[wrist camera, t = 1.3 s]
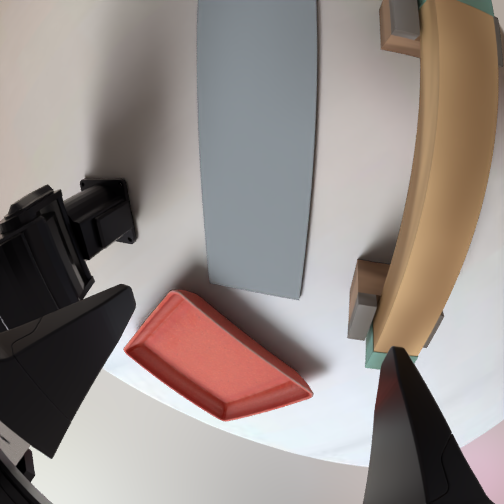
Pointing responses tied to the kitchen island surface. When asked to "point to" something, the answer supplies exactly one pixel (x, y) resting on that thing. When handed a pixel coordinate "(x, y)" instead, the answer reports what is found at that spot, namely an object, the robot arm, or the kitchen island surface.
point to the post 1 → (410, 28)
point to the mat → (257, 139)
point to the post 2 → (369, 298)
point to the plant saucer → (212, 360)
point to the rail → (441, 172)
